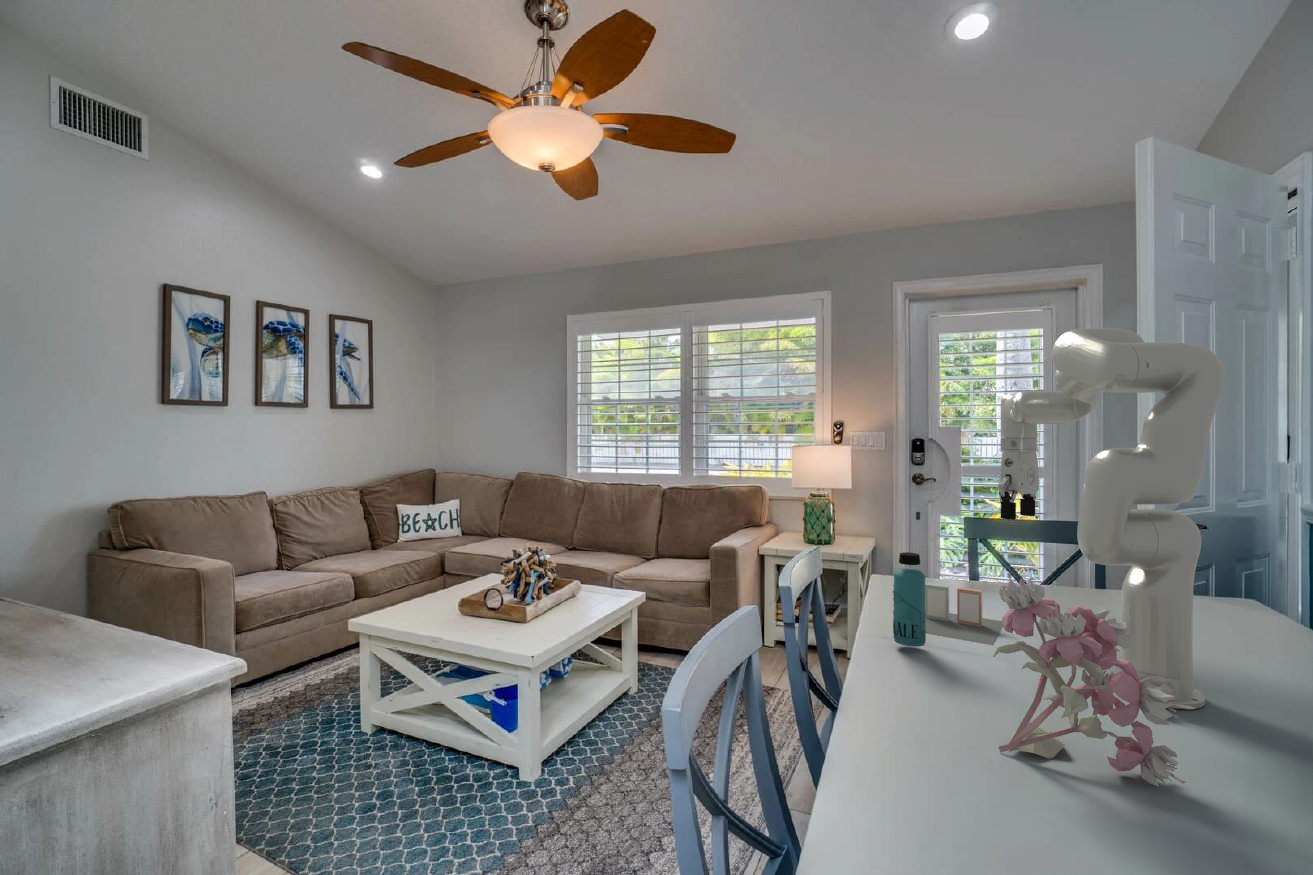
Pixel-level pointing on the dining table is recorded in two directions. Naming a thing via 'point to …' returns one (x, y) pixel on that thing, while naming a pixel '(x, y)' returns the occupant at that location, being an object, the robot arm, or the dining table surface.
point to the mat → (965, 629)
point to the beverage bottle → (909, 603)
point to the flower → (1086, 682)
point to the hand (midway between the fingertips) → (1018, 517)
